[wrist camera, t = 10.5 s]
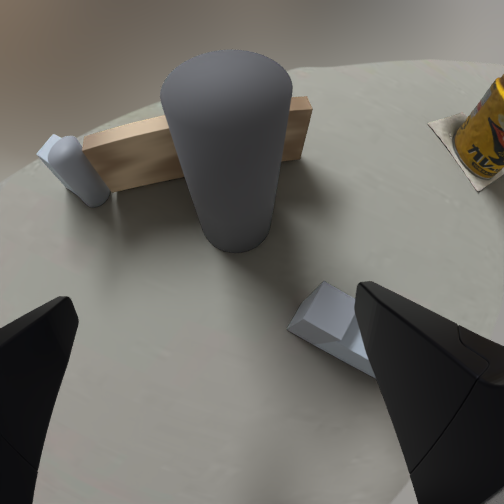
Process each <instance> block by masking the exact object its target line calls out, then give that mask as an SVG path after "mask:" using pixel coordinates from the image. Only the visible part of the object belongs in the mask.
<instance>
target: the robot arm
mask: <svg viewBox="0 0 504 504" xmlns="http://www.w3.org/2000/svg"><path fill="white" fill-rule="evenodd" d="M354 311H355V315H356V319H357V322H358V326H359V329H360V333H361V337H362V340H363V344H364V348H365V351H366V354H367V357H368V360H369V362H370V365H371V367H372V370H373V372H374V375H375V377H376V380H377V383H378V385H379V388H380V390H381V393H382V396H383V398H384V401H385V404H386V406H387V409H388V412H389V415H390V417H391V420H392V423H393V426H394V429H395V432H396V434H397V437H398V440H399V443H400V446H401V449H402V452H403V455H404V458H405V461H406V464H407V467H408V471H409V473H410V478H411V481H412V484H413V487H414V491H415V494H416V497H417V501H418V504H504V346H502V345H500V344H497V343H495V342H493V341H491V340H489V339H486V338H484V337H482V336H480V335H478V334H476V333H474V332H472V331H470V330H468V329H466V328H464V327H462V326H460V325H459V326H458V325H457V324H456V323H454V322H452V321H450V320H448V319H446V318H444V317H442V316H440V315H439V314H437V313H435V312H433V311H431V310H429V309H427V308H425V307H423V306H421V305H419V304H417V303H415V302H413V301H411V300H409V299H407V298H405V297H403V296H401V295H399V294H397V293H395V292H393V291H391V290H388V289H386V288H384V287H382V286H380V285H378V284H376V283H374V282H372V281H367V282H360V283H359V284H358V286H357V291H356V298H355V304H354ZM78 323H79V320H78V316H77V313H76V311H75V308H74V305H73V303H72V300H71V299H70V298H69V297H67V296H59V297H57V298H55V299H53V300H51V301H49V302H47V303H45V304H44V305H42V306H40V307H38V308H36V309H34V310H32V311H31V312H29V313H27V314H25V315H23V316H22V317H20V318H18V319H16V320H14V321H13V322H11V323H9V324H7V325H5V326H4V327H2V328H0V504H32V503H33V496H34V490H35V484H36V479H37V474H38V468H39V463H40V459H41V454H42V450H43V446H44V441H45V437H46V433H47V430H48V426H49V422H50V419H51V415H52V412H53V408H54V405H55V401H56V398H57V395H58V392H59V389H60V386H61V383H62V380H63V377H64V374H65V371H66V368H67V365H68V362H69V358H70V354H71V350H72V346H73V342H74V339H75V335H76V331H77V328H78Z"/></svg>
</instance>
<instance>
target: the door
mask: <svg viewBox="0 0 504 504" xmlns="http://www.w3.org/2000/svg"><path fill="white" fill-rule="evenodd" d="M312 110H313V109H312V107H311V104H310V102H309V100H308V98H307V96H306V97H291V104H290V110H289V117H288V123H287V129H286V135H285V142H284V148H283V154H282V160H281V162H282V161H290V160H299V159H300V158H301V154H302V150H303V146H304V142H305V138H306V134H307V130H308V126H309V122H310V118H311V114H312ZM82 152H83V153H84V155H85V156H86V157H87V159H88V160H89V162H90V163H91V164H92V166H93V167H94V169H95V170H96V171H97V173H98V174H99V176H100V177H101V178H102V180H103V181H104V182H105V184H106V185H107V186H108V188H109V189H110V191H111V192H112V193H113V192H117V191H122V190H126V189H130V188H134V187H139V186H143V185H148V184H152V183H157V182H162V181H167V180H172V179H177V178H182V177H184V174H183V170H182V167H181V164H180V161H179V158H178V155H177V152H176V149H175V146H174V142H173V139H172V136H171V133H170V130H169V126H168V123H167V120H166V117H165V115H163V116H159V117H154V118H150V119H146V120H142V121H138V122H134V123H130V124H126V125H122V126H118V127H115V128H111V129H108V130H104V131H101V132H98V133H94V134H91V135H88V136H85V137H84V141H83V147H82Z"/></svg>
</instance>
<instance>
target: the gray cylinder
mask: <svg viewBox="0 0 504 504" xmlns="http://www.w3.org/2000/svg"><path fill="white" fill-rule="evenodd" d="M292 87H293V86H292V81H291V79H290V76H289V75H288V73H287V72H286V70H284V68H283V67H282V66H280V65H279V64H278V63H277V62H275V61H274V60H272V59H270V58H268V57H266V56H264V55H261V54H258V53H254V52H249V51H242V50H219V51H213V52H208V53H205V54H201V55H198V56H196V57H193V58H191V59H189V60H187V61H185V62H183V63H182V64H180V65H179V66H178V67H176V68H175V69H174V70H173V71H172V72H171V73H170V74H169V75H168V76H167V78H166V79H165V81H164V83H163V85H162V88H161V93H160V98H161V104H162V107H163V110H164V113H165V117H166V120H167V123H168V126H169V130H170V133H171V136H172V139H173V142H174V146H175V149H176V152H177V155H178V158H179V161H180V164H181V167H182V170H183V174H184V177H185V180H186V183H187V186H188V189H189V192H190V195H191V198H192V201H193V204H194V206H195V209H196V212H197V215H198V218H199V221H200V224H201V227H202V230H203V232H204V235H205V236H206V238H207V239H208V241H209V242H210V243H211V244H212V245H214V246H215V247H216V248H218V249H220V250H223V251H226V252H232V253H240V252H245V251H248V250H251V249H253V248H255V247H256V246H258V245H259V244H260V243H261V242H262V241H263V240H264V239H265V238H266V236H267V234H268V232H269V230H270V226H271V220H272V214H273V208H274V202H275V196H276V190H277V184H278V178H279V172H280V166H281V160H282V154H283V148H284V142H285V135H286V129H287V123H288V117H289V110H290V104H291V97H292Z"/></svg>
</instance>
